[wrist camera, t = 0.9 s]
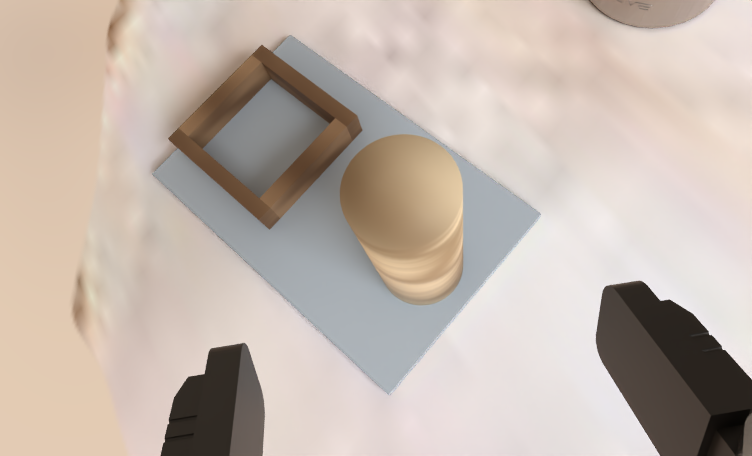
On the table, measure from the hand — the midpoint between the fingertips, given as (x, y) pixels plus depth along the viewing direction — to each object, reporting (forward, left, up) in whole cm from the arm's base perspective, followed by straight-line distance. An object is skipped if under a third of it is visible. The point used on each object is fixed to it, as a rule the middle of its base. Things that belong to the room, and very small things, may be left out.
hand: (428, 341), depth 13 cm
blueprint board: (-4, -13, -21) cm, 25 cm away
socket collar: (-4, -19, -21) cm, 29 cm away
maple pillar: (-4, -6, -20) cm, 21 cm away
